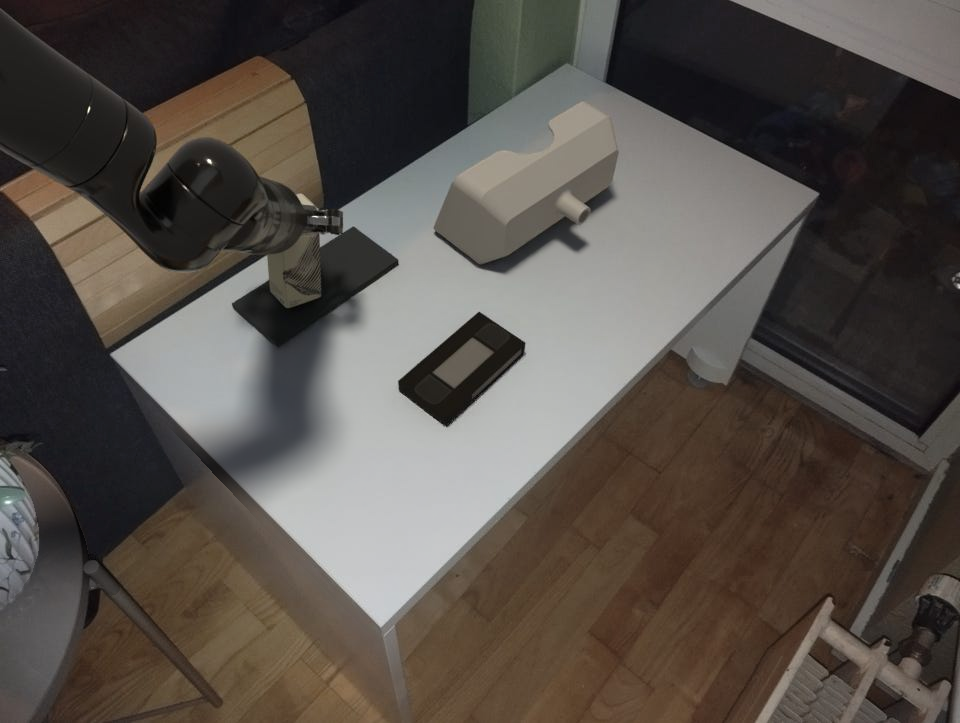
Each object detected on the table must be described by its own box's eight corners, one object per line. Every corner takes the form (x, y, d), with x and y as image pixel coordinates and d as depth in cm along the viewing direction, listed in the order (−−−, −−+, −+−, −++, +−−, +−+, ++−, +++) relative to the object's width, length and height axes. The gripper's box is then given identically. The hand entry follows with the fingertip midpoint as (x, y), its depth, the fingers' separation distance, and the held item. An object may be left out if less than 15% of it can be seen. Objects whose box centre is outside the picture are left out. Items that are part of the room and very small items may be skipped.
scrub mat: (277, 348, 93) (276, 343, 92) (233, 308, 96) (231, 303, 96) (398, 264, 102) (398, 259, 101) (354, 231, 106) (353, 226, 105)
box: (286, 310, 94) (278, 220, 85) (269, 291, 96) (259, 202, 87) (324, 296, 96) (320, 208, 88) (306, 278, 99) (301, 190, 90)
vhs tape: (525, 353, 94) (526, 343, 92) (446, 427, 87) (446, 417, 85) (478, 321, 97) (479, 311, 95) (398, 390, 90) (397, 381, 88)
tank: (513, 296, 99) (521, 224, 89) (431, 232, 106) (429, 159, 96) (634, 209, 110) (653, 136, 100) (553, 156, 117) (563, 83, 107)
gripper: (330, 179, 74) (357, 192, 91) (182, 173, 74) (235, 187, 91) (329, 257, 76) (356, 256, 92) (183, 251, 75) (235, 251, 92)
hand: (296, 222), depth 91 cm, fingers closed on box, 6 cm apart
